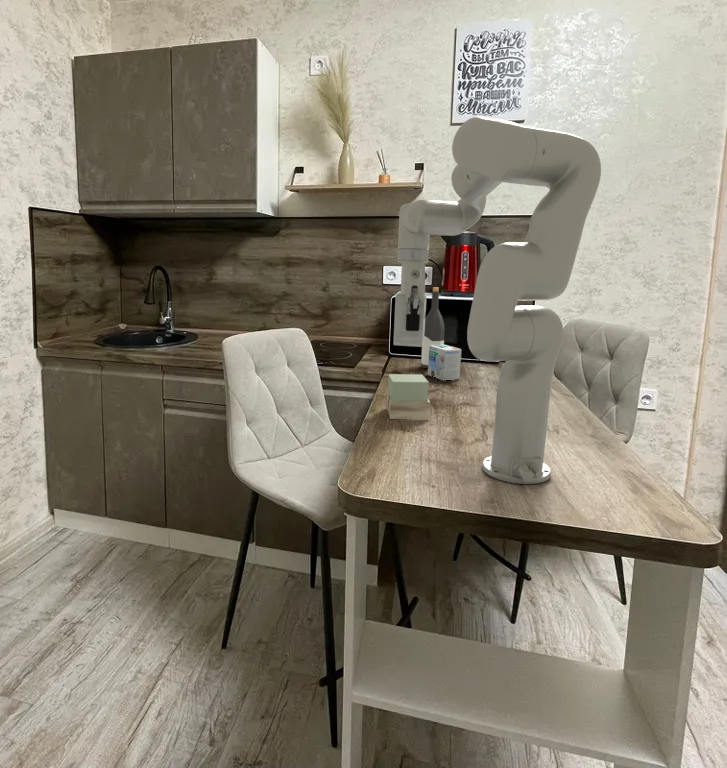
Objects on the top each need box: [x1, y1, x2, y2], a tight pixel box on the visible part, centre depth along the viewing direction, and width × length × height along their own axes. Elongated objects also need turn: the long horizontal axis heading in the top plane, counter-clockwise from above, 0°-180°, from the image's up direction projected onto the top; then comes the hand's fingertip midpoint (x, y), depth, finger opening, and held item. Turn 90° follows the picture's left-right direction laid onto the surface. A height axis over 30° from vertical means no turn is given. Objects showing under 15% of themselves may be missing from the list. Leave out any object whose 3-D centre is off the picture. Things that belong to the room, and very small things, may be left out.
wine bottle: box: [420, 286, 446, 369], centre depth 193 cm, size 8×8×30 cm
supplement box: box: [393, 292, 427, 348], centre depth 130 cm, size 7×7×13 cm
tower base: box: [386, 391, 431, 421], centre depth 135 cm, size 10×10×5 cm
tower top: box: [387, 373, 430, 401], centre depth 134 cm, size 9×9×5 cm
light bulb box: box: [427, 344, 462, 382], centre depth 179 cm, size 11×7×11 cm, turn 25°
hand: (409, 327), depth 131 cm, fingers closed on supplement box, 8 cm apart
